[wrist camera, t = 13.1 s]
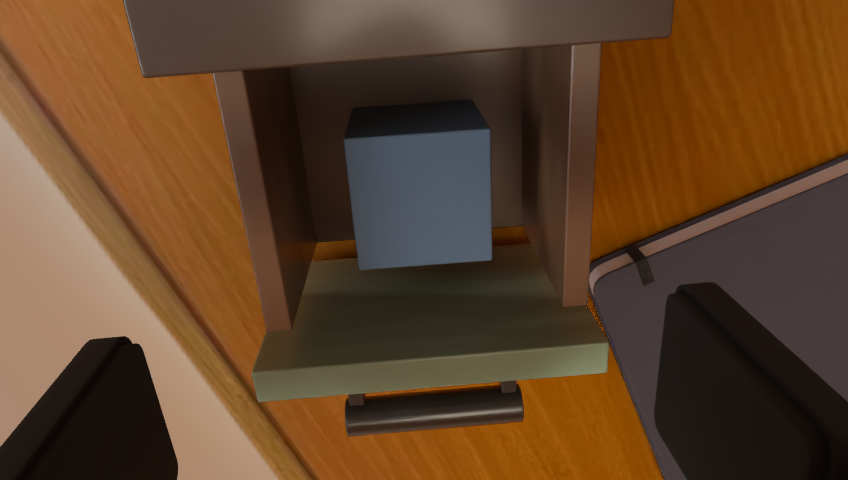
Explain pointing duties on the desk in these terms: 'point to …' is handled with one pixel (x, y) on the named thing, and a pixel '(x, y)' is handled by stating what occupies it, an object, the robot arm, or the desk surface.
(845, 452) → the robot arm
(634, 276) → the notebook
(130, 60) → the desk surface
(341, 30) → the cabinet
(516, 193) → the drawer
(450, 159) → the block
